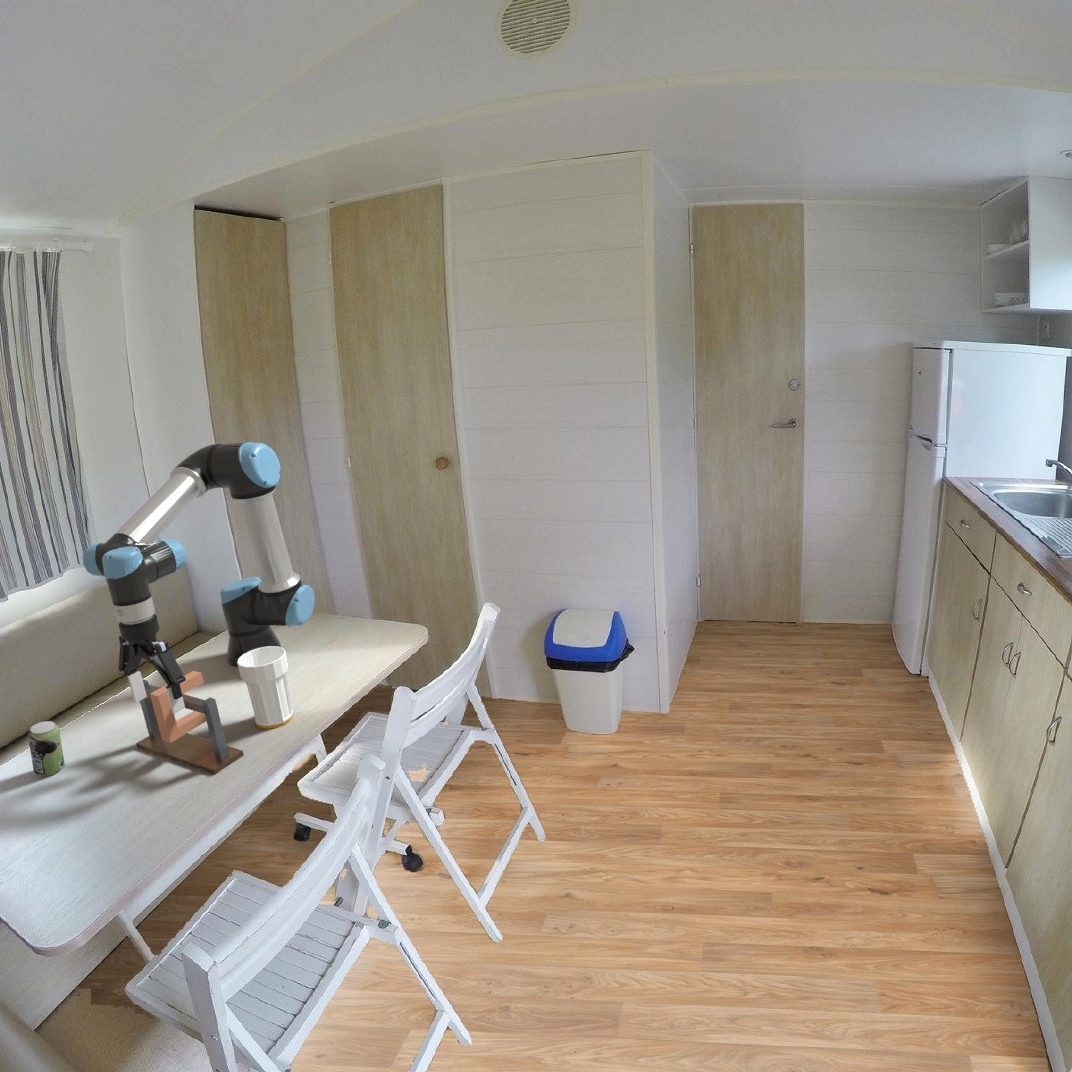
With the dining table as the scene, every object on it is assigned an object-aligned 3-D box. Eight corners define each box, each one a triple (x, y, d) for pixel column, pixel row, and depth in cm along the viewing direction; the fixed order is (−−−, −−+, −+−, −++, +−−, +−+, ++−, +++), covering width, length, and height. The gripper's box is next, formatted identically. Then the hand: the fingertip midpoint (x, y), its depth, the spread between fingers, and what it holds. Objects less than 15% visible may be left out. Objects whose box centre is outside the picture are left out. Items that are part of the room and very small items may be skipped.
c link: (162, 740, 176) (149, 693, 172) (204, 715, 185) (193, 670, 182) (170, 742, 174) (158, 696, 171) (212, 717, 184) (201, 672, 180)
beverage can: (43, 765, 180) (29, 720, 177) (76, 761, 181) (62, 716, 177) (29, 781, 174) (14, 735, 171) (62, 777, 175) (48, 731, 171)
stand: (137, 747, 184) (120, 688, 179) (166, 730, 191) (151, 672, 186) (215, 774, 171) (199, 711, 166) (243, 755, 177) (229, 693, 172)
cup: (241, 728, 189) (226, 664, 184) (271, 704, 199) (258, 643, 193) (278, 734, 185) (264, 669, 179) (307, 710, 195) (295, 648, 189)
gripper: (86, 617, 170) (110, 702, 176) (157, 633, 157) (180, 724, 164) (118, 604, 176) (140, 687, 182) (189, 618, 164) (210, 707, 170)
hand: (159, 705), depth 173 cm, fingers open, 13 cm apart
